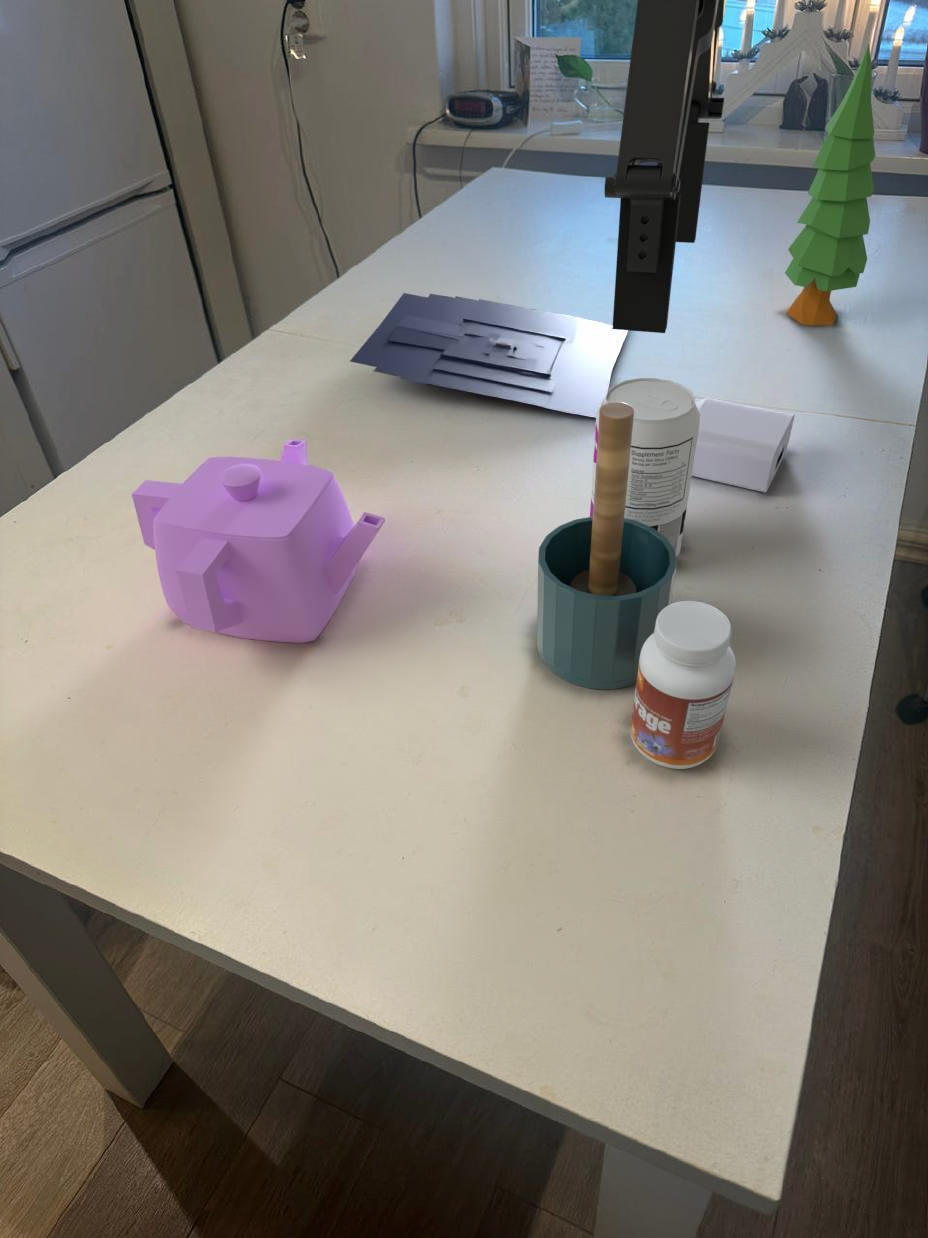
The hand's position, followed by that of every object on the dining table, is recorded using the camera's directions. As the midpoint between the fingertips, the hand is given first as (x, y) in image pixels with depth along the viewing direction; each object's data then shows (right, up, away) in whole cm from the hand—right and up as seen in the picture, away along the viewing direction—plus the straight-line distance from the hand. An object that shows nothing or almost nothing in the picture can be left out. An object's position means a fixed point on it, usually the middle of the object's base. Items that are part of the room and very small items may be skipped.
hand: (657, 280), depth 50 cm
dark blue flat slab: (-7, +12, +58) cm, 60 cm away
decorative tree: (+35, +20, +64) cm, 75 cm away
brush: (0, -21, +19) cm, 28 cm away
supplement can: (+4, -13, +29) cm, 32 cm away
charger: (+13, -3, +40) cm, 42 cm away
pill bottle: (+4, -28, +13) cm, 31 cm away
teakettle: (-28, -17, +27) cm, 42 cm away
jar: (0, -21, +20) cm, 29 cm away
